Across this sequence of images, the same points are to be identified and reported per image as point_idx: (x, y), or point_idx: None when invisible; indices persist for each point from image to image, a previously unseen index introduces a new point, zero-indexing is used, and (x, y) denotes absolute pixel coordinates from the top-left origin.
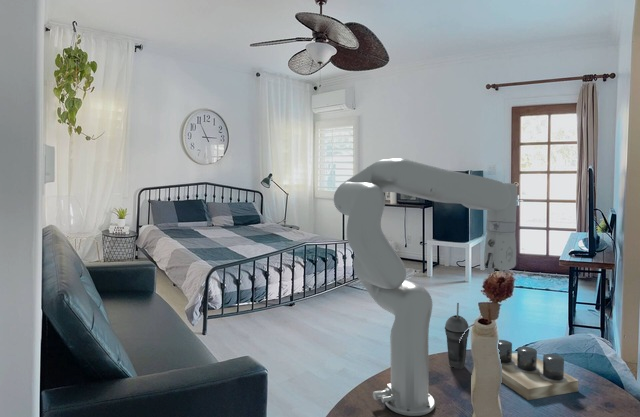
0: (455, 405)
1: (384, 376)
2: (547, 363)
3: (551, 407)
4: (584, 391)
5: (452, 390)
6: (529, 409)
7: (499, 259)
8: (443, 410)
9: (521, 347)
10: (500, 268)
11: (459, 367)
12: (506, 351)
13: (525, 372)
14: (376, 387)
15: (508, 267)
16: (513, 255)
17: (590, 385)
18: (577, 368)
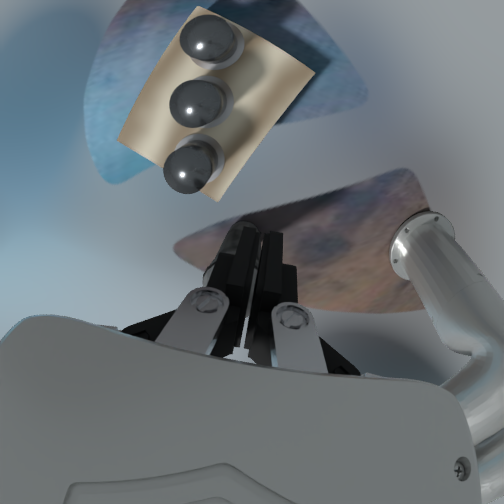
0: (401, 185)
1: (356, 306)
2: (230, 44)
3: (312, 35)
4: (196, 5)
5: (354, 205)
6: (347, 68)
7: (480, 495)
8: (422, 197)
9: (184, 121)
10: (456, 398)
11: (254, 227)
12: (205, 152)
13: (232, 96)
14: (393, 298)
15: (254, 381)
16: (26, 489)
17: (161, 7)
18: (99, 53)
